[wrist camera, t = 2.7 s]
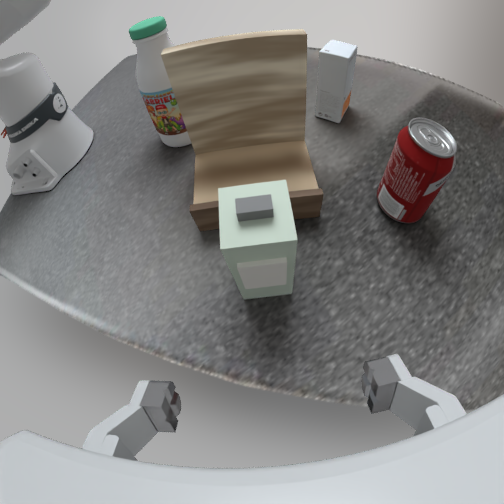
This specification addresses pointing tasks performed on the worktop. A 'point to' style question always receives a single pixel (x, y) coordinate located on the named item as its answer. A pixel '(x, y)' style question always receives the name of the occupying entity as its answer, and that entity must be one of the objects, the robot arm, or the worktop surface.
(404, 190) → the soda can
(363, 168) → the worktop surface
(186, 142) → the milk bottle
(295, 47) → the board
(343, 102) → the skincare box
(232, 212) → the mint juice carton
